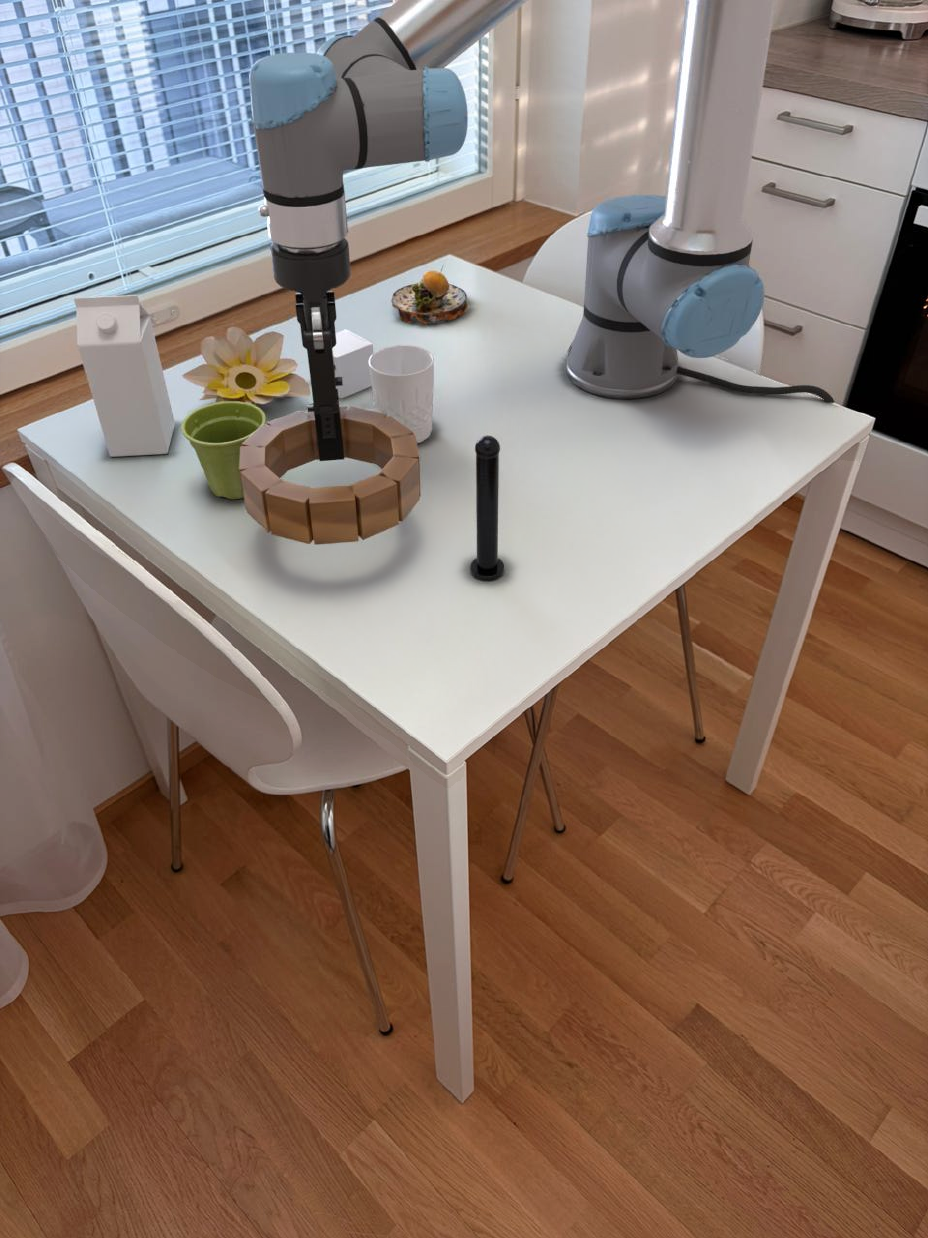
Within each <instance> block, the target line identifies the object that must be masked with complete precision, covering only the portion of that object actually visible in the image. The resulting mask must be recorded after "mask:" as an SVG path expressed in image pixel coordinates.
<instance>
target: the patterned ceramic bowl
mask: <svg viewBox="0 0 928 1238" xmlns="http://www.w3.org/2000/svg"><path fill="white" fill-rule="evenodd" d="M443 267H444V264H442V267H441V270H440V271H437V270H433V269H431V270H427V271H426V272H425V273H423V276H422V278H421V279H420V280H419V282H416V283H413V284H412V283H411V284H408V285H405V286H403V287H400V288H398V289H397V290H396V291H394V292H393V293H392V297H391V301H390V302H391V306H392V307H393V308H394V309H396V310H397V311H398V315H399V319H400V321H401V322H405V323H408V324H412V321H413V320H412V318H413V317H416V319H417V320H418V321H419V322H420V323H422V324H424V325H428V324H429V323H431V324H434V323H435V322H436V321H439V322H440V321H441V320H445V319H446V320H447V321H448V322H449V321H451V320H455V319H456V318H457V317H458V316H459V317H461V316H463V315H464V314H465V313H466V311H467V310H468V302H467V299H468V297H467V296H468V295H467V293H466V291H465V290H464V289H462V288H461V287H458V286H457V285H454V284H451V283H449V280H448V279H447V277H446V275H444V274H443V273H442V270H443Z"/></svg>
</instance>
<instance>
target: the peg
mask: <svg viewBox="0 0 928 1238" xmlns="http://www.w3.org/2000/svg"><path fill="white" fill-rule="evenodd" d="M500 452H501V445H500V442H499V440H497V438H495V437H494V436H492V435H484V436H481V437H479V438H478V439H477V440H476V442H475V445H474V453H475V485H476V486H475V493H476V495H475V496H476V497H475V502H476V504H475V505H476V510H475V511H476V514H475V515H476V520H475V521H476V558H475V559H473V560H472V561H471V562H470V565H469V572H470V575H471V576H472V577H473V578H474V579H477V580H480V581H482V582H491V581H496V580H499V579H500V578H501V577H502V576H503V575H504V574H505V573H504V572H505V564H504V562H503V561H502V559H500V558H499V487H500V486H499V476H500V475H499V473H500V467H499V466H500Z"/></svg>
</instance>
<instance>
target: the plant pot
mask: <svg viewBox="0 0 928 1238" xmlns="http://www.w3.org/2000/svg"><path fill="white" fill-rule="evenodd" d="M263 424H265V425H266V424H267V417H266V414H265V412H264V411H263V410H262V409H261V408H260V407H258V406H257V405H255V406H254V405H252V404H251V403H250V404H249V403H245V402H237V401H233V402H218V403H215V402H214V403H210V404H207V405H203V406H202V407H199V408H197V409H195V410H194V411H192V412H190V413H189V414H188V415H187V416H186V417H185V418H184V419H183V421H182V423H181V426H180V427H181V428H180V429H181V432H182V435H183V436H184V438H185V439H186V440H188V441H189V444H190V445H191V447H192V448H193V449H194V451H195V453H196V456H197V459H198V460H199V464H200V466H201V468H202V470H203V473H204V476H205V479H206V481H207V483H208V486H209V488H210V492H211V493H212V494H213V495H215V496H216V497H217V498H218V497H219V498H220V497H223V498H226V499H229V500H239V499H244V497H243V491H242V486H241V480H240V474H239V457H240V447H241V446H242V443H243V442H245V441H246V440H247V439H248V438H249V437H250V436H251V435H252V434H253V433H254V432H255V431H257V430H258V429H259V428H260V427H261V426H262V425H263Z"/></svg>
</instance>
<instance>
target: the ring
mask: <svg viewBox="0 0 928 1238" xmlns="http://www.w3.org/2000/svg"><path fill="white" fill-rule="evenodd" d="M339 410H340V420H341V430H342V440H343V450H344V459H346V458H347V459H351V460H354V461H359V462H364V463H368V464H372V465H376V466H377V467H378V468H380V469H381V470H380V471H379V472H378V473H377V474H373V475H372V476H369V477H366V478H365V479H362V480H360V481H357V482H355V483H352V484H350V485H349V484H348V485H338V486H337V485H336V486H321V487H309V486H306V485H302V484H298V483H294V482H290V481H286V480H282V479H281V478H282V477H283V476H284V475H286V473H287V472H288V471H290V470H291V471H292V470H293V469H296V468H298V467H300V466H304V465H306V464H308V463H312V462H313V461H320V459H319V451H318V442H317V434H316V425H315V417H314V411H312V412H308V410H307V408H306V411H304V410H303V409H300V410H297V411H294V412H292V413H288V414H287V415H283V416H281V417H278V418H274V419H273V420H269V421H266V423H265V424H263V425H262V426H261V427H260V428H259V429H258V430H257V431H255V432H254V433H253V434H252V435H251V436H250V437H249V438H248V439H247V440H246V441H245V442H243V443H242V446H241V447H240V457H239V474H240V480H241V486H242V491H243V503H244V508H245V511H246V513H247V514H248V515H249V516H250V518H252V519H253V520H254V521H255V522H256V523H257V524H258V525H259V526H260V527H262V529H263V530H265V532H267V533H270V534H271V535H272V536H276V537H280V538H284V539H288V540H291V541H295V542H299V543H303V544H306V545H311V543H312V542H313V544H314V545H315V546H318V545H329V544H341V543H342V544H343V543H356V542H359V541H360V540H359V539H362V540H363V541H364V540H367V539H369V538H371V537H373V536H375V535H378V534H380V533H383V532H385V531H388V530H389V529H392V528H394V527H397V526H399V525H400V523H403V522H404V520H405V519H406V518H407V517H408V516H409V514H410V513H411V512H412V510H414V508H415V507H416V505H417V504H418V503H419V501H420V499H421V497H422V493H421V466H420V465H421V464H420V463H421V462H420V453H419V448H418V443H417V441H416V436H415V434H414V435H413V432H412V431H411V430H409V429H408V428H407V427H405V426H404V425H402V424H401V423H400V422H398V421H397V420H395V419H394V418H393V417H391V416H388V417H387V414H384V413H379V412H375V411H374V410H370V409H365V408H359V407H355V406H350V407H347V406H346V405H345V406H339Z"/></svg>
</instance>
